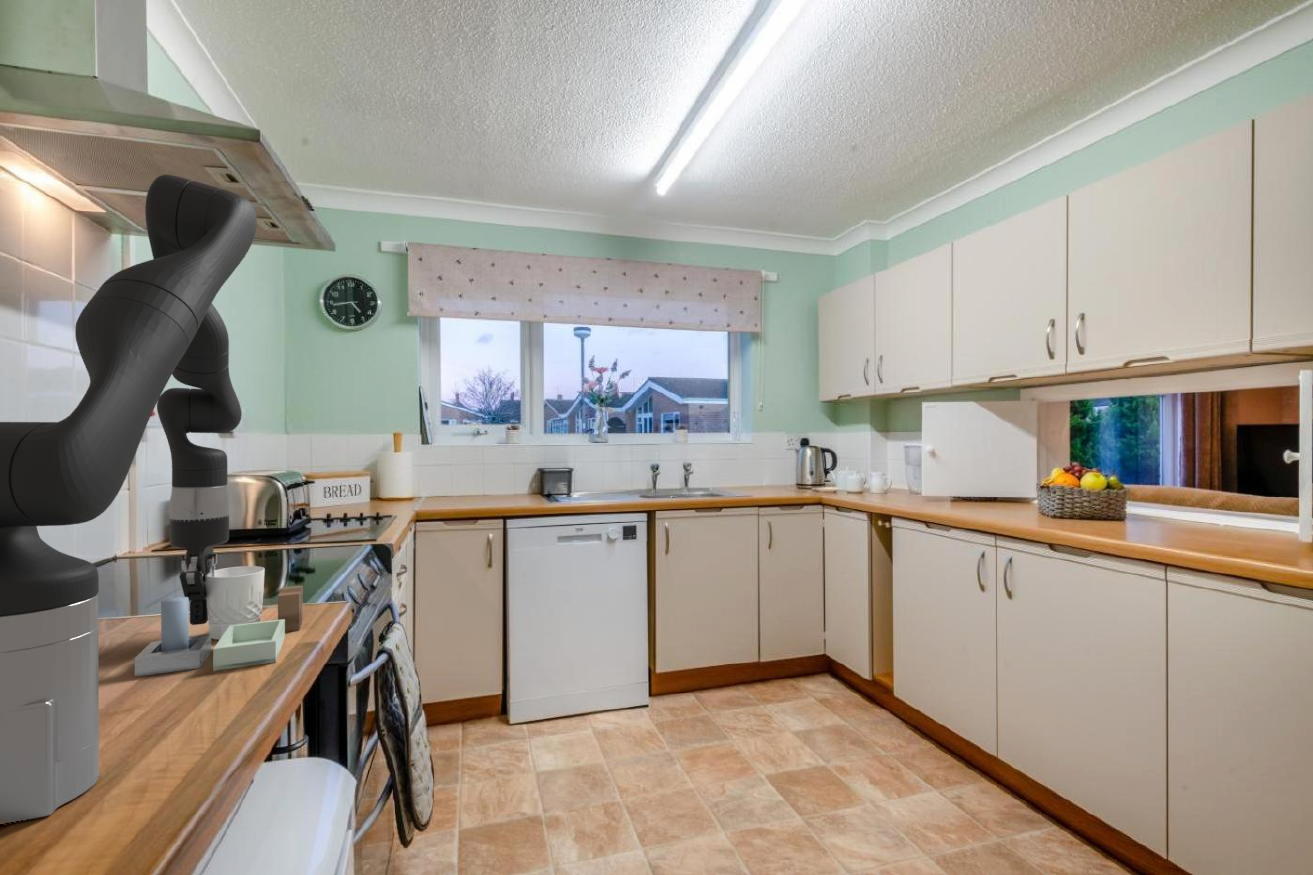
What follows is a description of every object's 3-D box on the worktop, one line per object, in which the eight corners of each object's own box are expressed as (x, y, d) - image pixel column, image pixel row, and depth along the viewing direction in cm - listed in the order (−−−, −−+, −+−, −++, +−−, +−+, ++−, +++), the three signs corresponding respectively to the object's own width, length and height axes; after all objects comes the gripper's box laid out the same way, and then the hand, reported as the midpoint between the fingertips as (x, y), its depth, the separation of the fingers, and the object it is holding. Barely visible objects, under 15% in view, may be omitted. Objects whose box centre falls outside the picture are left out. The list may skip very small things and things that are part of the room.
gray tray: (199, 668, 82) (199, 649, 82) (134, 677, 79) (134, 658, 79) (211, 651, 89) (211, 634, 89) (151, 659, 86) (151, 641, 86)
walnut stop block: (299, 630, 98) (299, 593, 98) (277, 632, 97) (277, 595, 97) (302, 620, 104) (302, 585, 104) (282, 622, 102) (282, 587, 102)
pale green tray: (275, 662, 85) (275, 641, 85) (213, 671, 81) (213, 649, 81) (284, 638, 95) (284, 619, 95) (229, 645, 91) (229, 625, 91)
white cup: (225, 644, 92) (225, 579, 92) (193, 637, 95) (193, 574, 95) (275, 629, 99) (275, 568, 99) (243, 622, 102) (244, 564, 102)
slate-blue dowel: (185, 665, 83) (185, 601, 83) (158, 669, 82) (158, 603, 82) (191, 658, 86) (191, 595, 86) (164, 661, 85) (164, 598, 85)
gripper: (220, 518, 91) (219, 632, 91) (236, 508, 103) (235, 609, 103) (157, 521, 88) (157, 639, 88) (181, 510, 99) (181, 614, 100)
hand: (199, 622), depth 95 cm, fingers closed
